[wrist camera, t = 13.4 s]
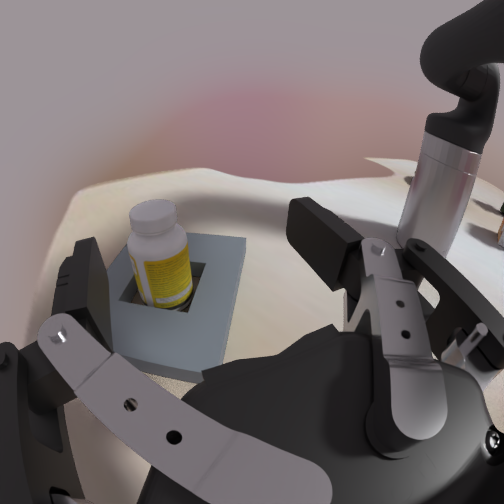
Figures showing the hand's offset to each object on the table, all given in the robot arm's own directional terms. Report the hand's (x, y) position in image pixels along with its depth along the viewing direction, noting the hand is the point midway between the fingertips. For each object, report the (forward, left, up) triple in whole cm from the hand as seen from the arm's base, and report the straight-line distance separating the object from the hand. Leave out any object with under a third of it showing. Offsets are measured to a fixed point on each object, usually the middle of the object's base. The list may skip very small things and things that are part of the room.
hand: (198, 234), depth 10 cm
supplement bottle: (-9, -7, -14) cm, 18 cm away
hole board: (-10, -7, -14) cm, 18 cm away
